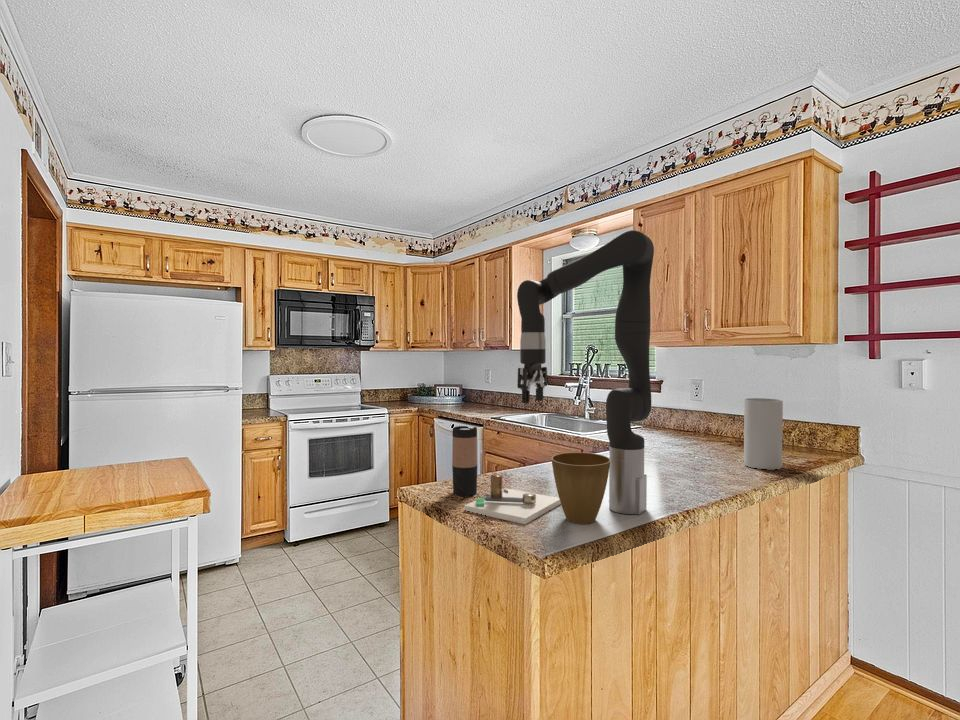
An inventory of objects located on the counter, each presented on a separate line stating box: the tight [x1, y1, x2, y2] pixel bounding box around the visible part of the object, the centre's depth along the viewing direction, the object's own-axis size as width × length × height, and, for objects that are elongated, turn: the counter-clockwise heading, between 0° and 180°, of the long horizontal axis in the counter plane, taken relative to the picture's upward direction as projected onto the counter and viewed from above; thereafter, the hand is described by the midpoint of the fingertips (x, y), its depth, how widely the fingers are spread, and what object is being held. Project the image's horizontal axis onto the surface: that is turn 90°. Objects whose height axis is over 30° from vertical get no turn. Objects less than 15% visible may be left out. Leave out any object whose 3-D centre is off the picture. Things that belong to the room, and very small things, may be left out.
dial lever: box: [486, 473, 536, 504], centre depth 142 cm, size 14×4×7 cm, turn 82°
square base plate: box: [463, 487, 561, 525], centre depth 144 cm, size 20×21×2 cm
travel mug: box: [451, 425, 478, 497], centre depth 157 cm, size 8×8×20 cm
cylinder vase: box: [743, 397, 784, 471], centre depth 192 cm, size 12×12×25 cm
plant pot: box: [550, 451, 610, 525], centre depth 133 cm, size 15×15×16 cm
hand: (532, 401), depth 155 cm, fingers open, 8 cm apart
